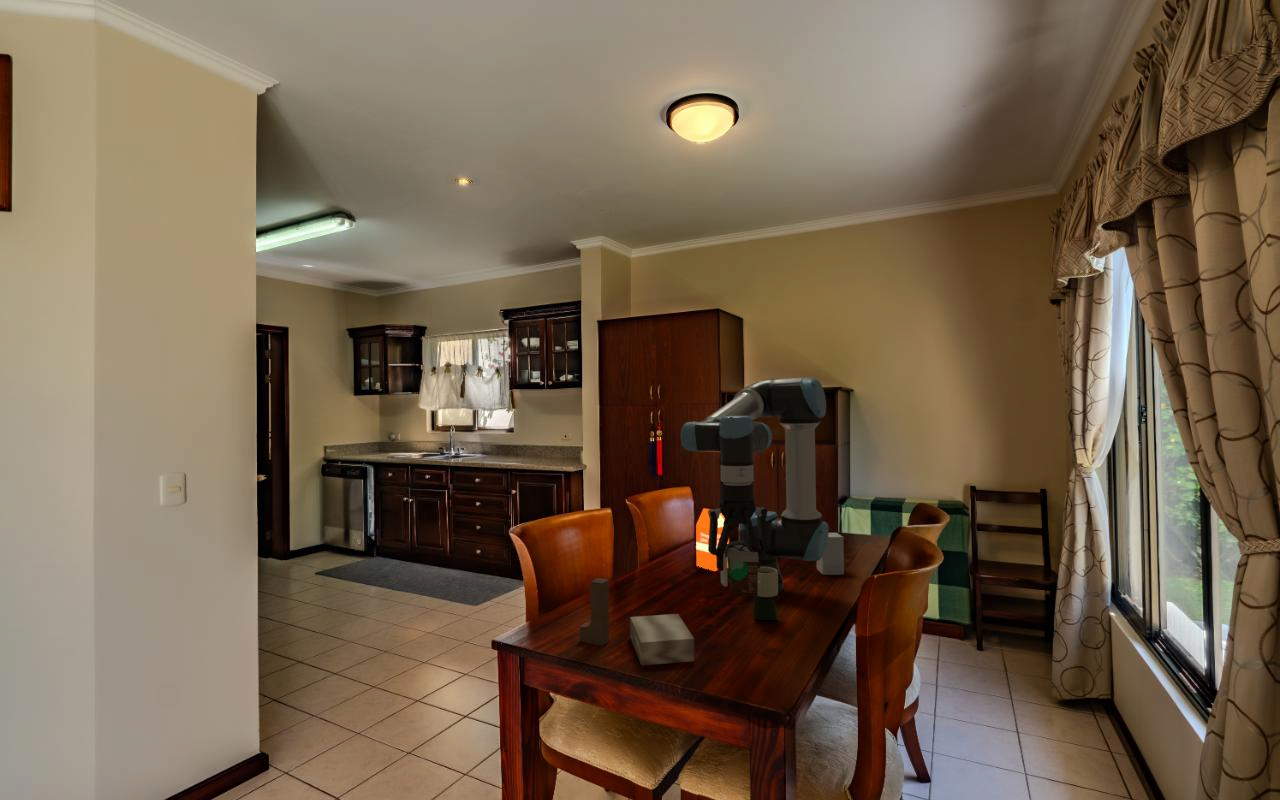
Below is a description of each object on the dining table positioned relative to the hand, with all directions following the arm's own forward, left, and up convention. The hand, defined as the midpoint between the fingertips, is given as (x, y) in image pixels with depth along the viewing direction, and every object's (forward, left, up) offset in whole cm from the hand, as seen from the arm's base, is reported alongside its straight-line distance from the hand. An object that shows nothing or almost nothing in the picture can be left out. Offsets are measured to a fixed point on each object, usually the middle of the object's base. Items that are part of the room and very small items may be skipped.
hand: (738, 583), depth 138 cm
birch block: (+17, -6, -16) cm, 24 cm away
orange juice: (-15, -72, -16) cm, 75 cm away
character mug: (-14, -20, -16) cm, 29 cm away
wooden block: (+32, -13, -16) cm, 38 cm away
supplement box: (-52, -58, -16) cm, 79 cm away
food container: (0, 0, -2) cm, 2 cm away
